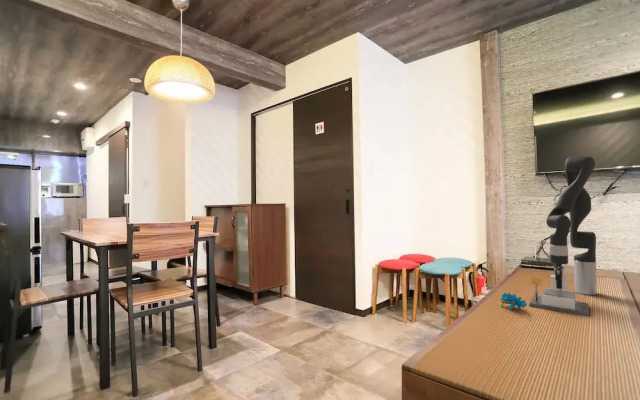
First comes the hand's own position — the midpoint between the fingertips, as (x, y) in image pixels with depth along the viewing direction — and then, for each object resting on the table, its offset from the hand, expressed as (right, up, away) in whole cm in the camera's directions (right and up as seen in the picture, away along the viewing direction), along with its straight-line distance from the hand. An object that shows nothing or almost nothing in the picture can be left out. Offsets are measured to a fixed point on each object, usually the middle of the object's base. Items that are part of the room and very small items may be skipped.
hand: (559, 287), depth 160 cm
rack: (-10, -5, -12) cm, 17 cm away
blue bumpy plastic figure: (-33, -5, -15) cm, 37 cm away
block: (0, -4, 0) cm, 4 cm away
